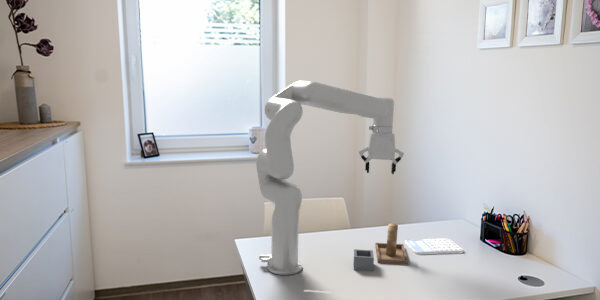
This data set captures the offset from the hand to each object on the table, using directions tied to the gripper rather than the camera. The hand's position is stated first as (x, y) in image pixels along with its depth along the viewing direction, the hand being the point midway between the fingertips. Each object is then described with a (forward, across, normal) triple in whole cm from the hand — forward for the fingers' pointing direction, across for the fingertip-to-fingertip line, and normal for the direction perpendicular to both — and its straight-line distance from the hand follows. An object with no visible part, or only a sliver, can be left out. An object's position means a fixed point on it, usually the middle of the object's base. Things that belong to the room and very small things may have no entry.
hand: (380, 172), depth 182 cm
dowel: (+30, +5, -10) cm, 32 cm away
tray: (+30, +5, -10) cm, 32 cm away
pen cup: (+30, -6, -22) cm, 38 cm away
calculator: (+31, +23, +2) cm, 39 cm away
